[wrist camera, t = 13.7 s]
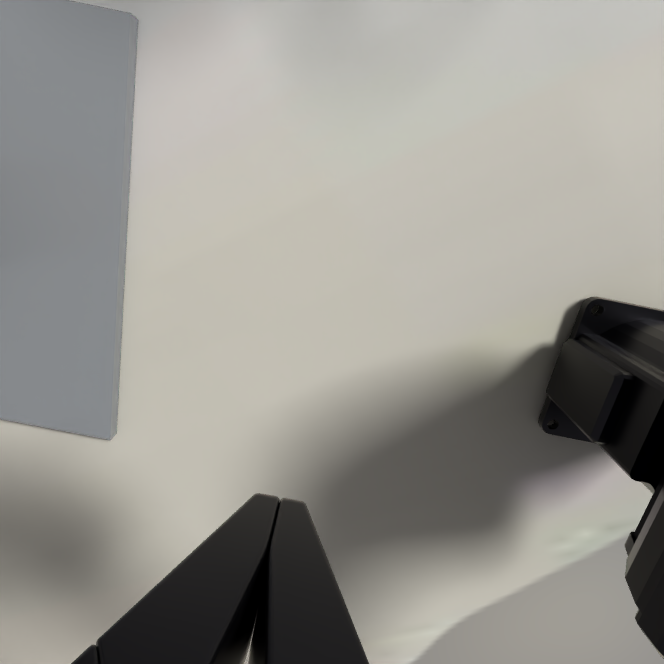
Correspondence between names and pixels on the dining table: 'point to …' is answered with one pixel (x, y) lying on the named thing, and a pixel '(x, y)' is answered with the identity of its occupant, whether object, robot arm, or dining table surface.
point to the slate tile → (64, 210)
